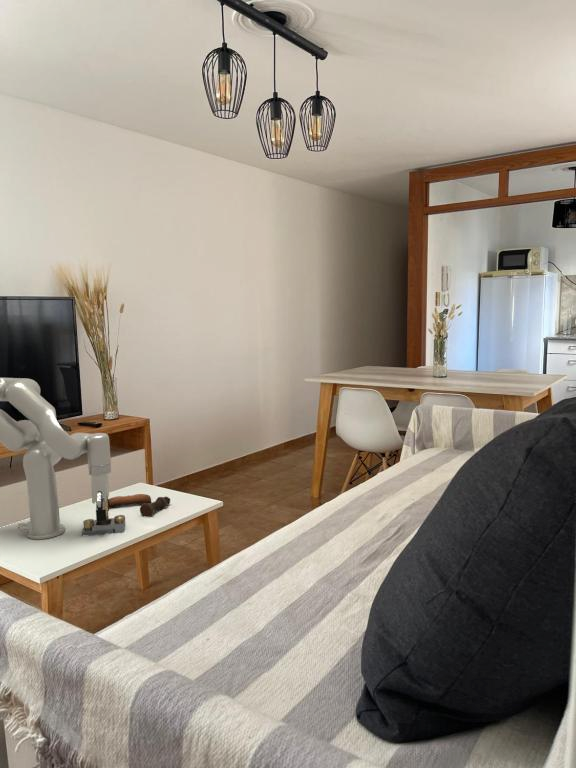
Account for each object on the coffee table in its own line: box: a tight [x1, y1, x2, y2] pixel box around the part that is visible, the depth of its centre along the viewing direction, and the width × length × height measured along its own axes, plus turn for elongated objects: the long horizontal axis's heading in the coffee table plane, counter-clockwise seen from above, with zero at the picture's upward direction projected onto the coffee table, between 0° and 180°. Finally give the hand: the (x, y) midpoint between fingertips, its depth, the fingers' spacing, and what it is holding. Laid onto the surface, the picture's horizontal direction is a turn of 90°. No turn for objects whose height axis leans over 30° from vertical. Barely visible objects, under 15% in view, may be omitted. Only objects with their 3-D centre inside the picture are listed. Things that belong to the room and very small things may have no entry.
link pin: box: [98, 500, 110, 525], centre depth 206 cm, size 4×4×13 cm
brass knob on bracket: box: [81, 514, 126, 537], centre depth 207 cm, size 14×7×4 cm, turn 101°
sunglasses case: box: [108, 493, 152, 509], centre depth 236 cm, size 18×7×7 cm
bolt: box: [139, 495, 171, 518], centre depth 227 cm, size 6×5×15 cm
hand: (103, 515), depth 207 cm, fingers open, 9 cm apart
